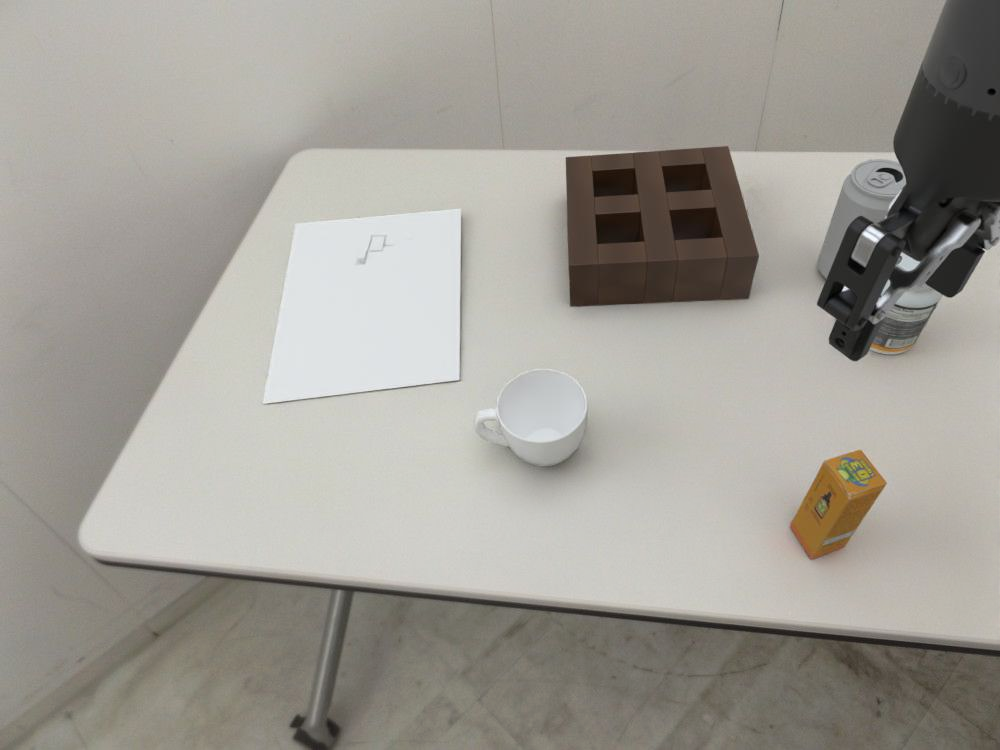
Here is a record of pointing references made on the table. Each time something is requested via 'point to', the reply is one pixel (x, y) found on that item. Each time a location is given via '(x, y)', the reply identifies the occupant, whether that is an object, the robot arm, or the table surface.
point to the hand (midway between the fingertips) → (894, 318)
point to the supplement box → (836, 503)
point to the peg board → (657, 228)
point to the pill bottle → (906, 316)
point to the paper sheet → (368, 306)
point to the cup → (538, 416)
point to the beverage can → (861, 202)
